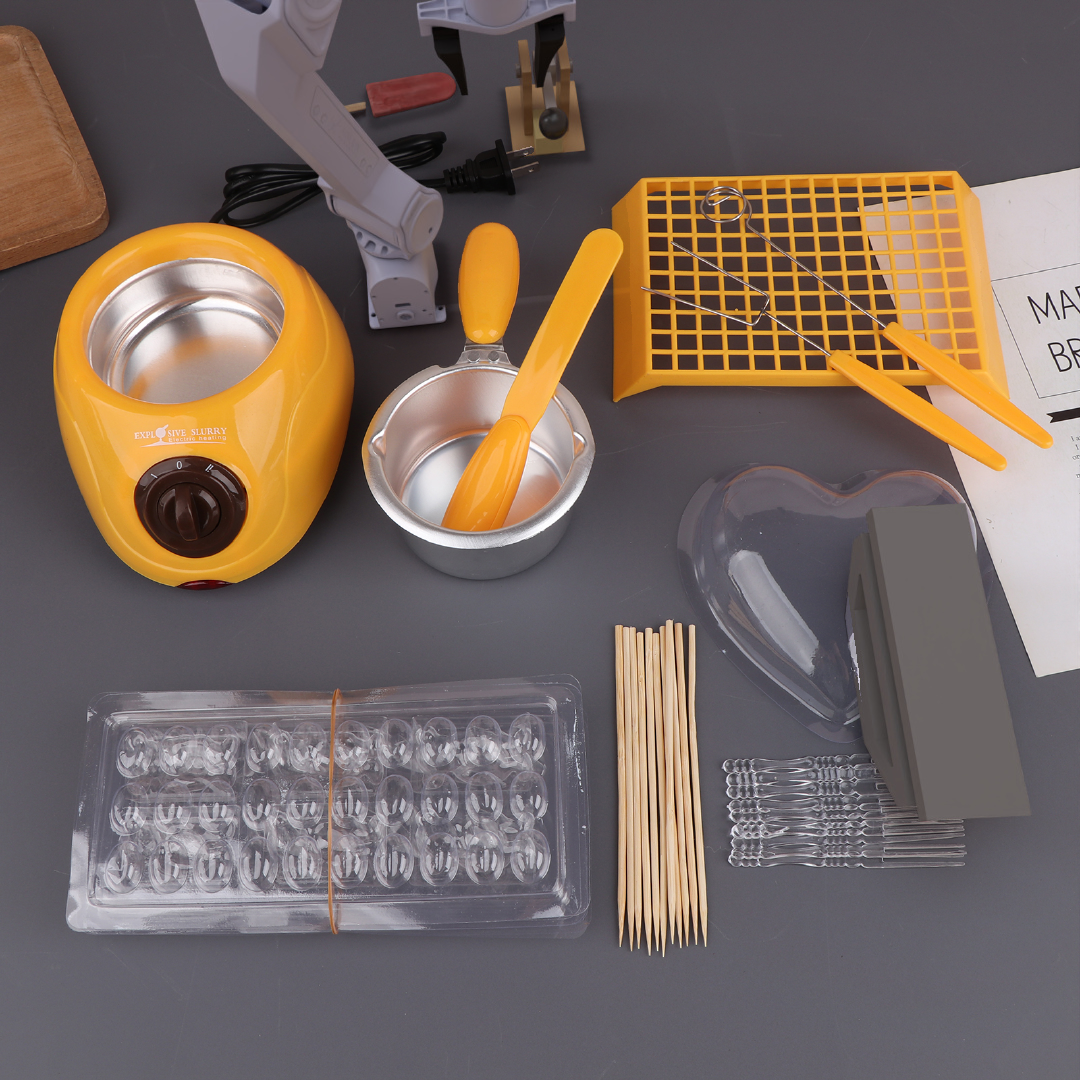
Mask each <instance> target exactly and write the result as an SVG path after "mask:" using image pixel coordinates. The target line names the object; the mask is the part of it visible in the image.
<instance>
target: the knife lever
mask: <svg viewBox="0 0 1080 1080" xmlns="http://www.w3.org/2000/svg"><path fill="white" fill-rule="evenodd" d="M534 56H535V49H534V50H531V61H532V76H533V82H534V84H535V87H536V88H537V85H536V78H535V69H534ZM553 86H556V57H555V56H554V57H553V59H552V61H551V63H550V66H549V68H548V71H547V74H546V77H545V81H544V87H542V93H543V99H544V105H545V111H543V113H542V114H541V116H540V118H539V129H540V131H541V133H542V135H543V136H544V137H546V138H547V139H550V140H557V139H560V138H561V137H563V136H564V135H565V133H566V132H567V129H568V124H569V123H568V117H567V115H566V113H565V112H564V111H563V110H562V109H560V108H557V105H556V100H555V94H554V88H553Z"/></svg>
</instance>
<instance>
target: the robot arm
mask: <svg viewBox="0 0 1080 1080" xmlns="http://www.w3.org/2000/svg"><path fill="white" fill-rule="evenodd" d="M194 3H195V5H196V8H197V11H198V14H199V17H200V20H201V23H202V26H203V29H204V31H205V34H206V38H207V40H208V43H209V45H210V48H211V49H210V50H211V51H212V54H213V57H214V60H215V63H216V66H217V69H218V71H219V74H220V76H221V78H222V80H223V81H224V83H225V84H226V86H227V87H228V88H230V90H231V91H232V92H233V93H234V94H235V95H236V96H238V97H239V99H240V100H242V101H243V102H244V103H245V104H246V105H247V107H248V108H249V109H251V110H252V111H253V112H254V113H255V115H256V116H258V117H259V118H260V119H261V120H262V121H263V122H264V123H265V124H266V125H267V126H268V127H269V128H270V129H271V130H272V131H273V132H274V133H275V134H276V135H277V136H278V137H279V138H280V139H282V141H284V143H285V144H286V145H288V146H289V148H290V149H292V150H293V151H294V152H295V154H297V156H299V157H300V158H301V159H302V161H304V162H305V163H306V164H307V165H308V166H309V167H310V168H311V169H312V170H313V171H315V173H316V174H317V175H318V177H317V182H316V185H317V186H318V187H319V188H320V189H321V190H322V191H323V193H324V196H325V201H326V204H327V207H328V210H329V211H330V212H331V213H332V214H333V215H336V216H337V217H340V218H344V219H345V222H346V225H347V227H348V228H349V229H351V231H352V232H353V234H354V237H355V240H356V244H357V247H358V250H359V252H360V255H361V256H360V257H361V258H362V259H361V260H362V262H363V266H364V268H365V271H366V282H367V303H368V321H369V322H368V323H369V327H370V328H371V329H372V330H382V329H391V328H402V327H411V326H412V327H413V326H420V325H431V324H441V323H444V322H446V320H447V310H446V304H438V305H436V300H435V299H436V297H435V292H436V287H437V285H438V284H437V283H438V280H439V270H438V265H437V259H436V256H435V250H434V245H433V241H434V240H435V238H436V237H437V235H438V233H439V231H440V228H441V226H442V223H443V218H444V202H443V197H442V194H441V193H440V192H439V190H436V189H435V188H431V187H426V186H425V185H424V184H421V183H419V182H418V181H417V180H415V179H414V178H413V177H411V176H410V175H408V174H407V173H406V172H404V171H403V170H402V169H400V168H398V166H396V165H395V164H393V163H392V162H390V160H389V159H388V158H387V157H386V156H385V155H384V153H383V152H382V151H381V150H380V149H379V147H378V146H377V145H376V143H375V142H374V141H373V140H372V138H371V137H370V136H369V135H368V134H367V132H366V131H365V130H364V129H363V128H362V126H361V125H360V124H359V122H358V121H357V120H356V119H355V117H354V116H353V115H352V113H351V112H350V113H349V112H348V111H347V109H346V108H345V107H344V106H345V105H344V104H343V103H342V102H341V100H340V99H339V98H338V97H337V95H335V93H334V92H333V91H332V89H331V88H330V87H329V86H328V84H327V83H326V82H325V81H324V79H323V78H322V77H321V76H320V74H318V73H317V71H319V70H321V69H322V68H323V67H324V64H325V61H326V57H327V54H328V50H329V47H330V43H331V40H332V37H333V33H334V31H335V26H336V24H337V19H338V16H339V12H340V11H341V10H340V9H341V6H342V3H343V0H194ZM416 10H417V20H418V25H419V33H420V37H421V38H422V37H430V36H432V38H433V39H432V40H433V48H434V51H435V53H436V55H437V57H438V58H439V59H440V60H441V61H442V62H443V63H444V65H446V67H447V69H449V71H450V73H451V74H452V76H453V77H454V78H453V79H454V80H455V83H456V85H457V86H458V89H459V91H460V95H461V96H462V97H464V96H469V90H468V89H469V88H468V82H467V74H466V73H467V72H466V67H465V62H464V57H463V53H462V46H461V38H460V37H461V36H460V31H464V32H472V33H476V34H483V35H488V36H489V35H490V36H502V35H507V34H511V33H513V32H516V31H518V30H520V29H523V28H527V27H528V26H531V25H534V50H535V56H534V69H535V78H536V85H537V88H541V87H544V81H545V77H546V74H547V71H548V68H549V66H550V63H551V61H552V59H553V57H554V58H555V57H556V53H557V51H558V50H559V48H560V47H561V46H562V45H563V43H564V39H565V36H566V29H565V22H566V23H568V22H576V20H577V19H576V14H577V13H576V12H577V1H576V0H428V1H423V2H417V3H416ZM440 309H441V310H440Z"/></svg>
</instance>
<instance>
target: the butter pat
mask: <svg viewBox="0 0 1080 1080" xmlns="http://www.w3.org/2000/svg"><path fill="white" fill-rule="evenodd" d="M558 108H559V107H558ZM543 111H545V109H537V110H533V135H534V142H535V150H536V155H535V156H538V155H537V154H543V155H549V154H548V153H554V154H559V153H558V152H563V137H561V138H560V139H557V140H550V139H547V138H546V137H544V136H543V135H542V133H541V131H540V129H539V118H540V116H541V114H542V113H543Z"/></svg>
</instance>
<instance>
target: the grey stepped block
mask: <svg viewBox="0 0 1080 1080" xmlns="http://www.w3.org/2000/svg"><path fill="white" fill-rule="evenodd" d="M865 517H866V518H865V519H866V523H867V524H866V525H867V529H868V532H861V533H859V535H858V536H857V537H855V538H854V540H853V541H852V549H851V556H850V563H849V571H848V572H849V573H848V580H847V591H846V593H847V592H848V597H849V605H850V612H851V618H852V627H853V633H854V640H855V646H856V654H857V663H858V668H859V678H860V690H859V683H858V677H857V675H855V677H856V679H855V678H854V677H853V681H854V682H853V683H854V688H855V695H856V700H857V707H858V713H859V719H860V725H861V732H862V739H863V744H864V746H865V748H866V749H867V752H868V753H869V755H870V757H871V759H872V761H873V763H874V766H875V767H876V769H877V771H878V773H879V775H880V777H881V778H882V780H883V782H884V784H885V786H886V788H887V790H888V792H889V794H890V796H891V797H892V800H893V801H894V803H895V805H896V807H897V808H911V807H915V808H916V811H917V816H918V817H917V818H918V822H922V821H923V822H924V821H945V820H966V819H985V818H986V819H987V818H1006V817H1007V818H1008V817H1027V816H1028V817H1029V816H1033V815H1032V809H1031V805H1030V800H1029V794H1028V790H1027V785H1026V781H1025V777H1024V771H1023V766H1022V762H1021V758H1020V752H1019V748H1018V744H1017V739H1016V734H1015V730H1014V725H1013V720H1012V715H1011V710H1010V705H1009V702H1008V701H1009V700H1008V696H1007V692H1006V686H1005V682H1004V678H1003V672H1002V668H1001V664H1000V659H999V653H998V650H997V645H996V640H995V635H994V630H993V626H992V622H991V621H992V620H991V617H990V612H989V608H988V602H987V598H986V593H985V589H984V584H983V579H982V574H981V569H980V565H979V561H978V555H977V550H976V546H975V541H974V537H973V531H972V528H971V527H972V526H971V523H970V518H969V513H968V508H967V503H966V502H962V503H959V502H958V503H941V504H939V503H938V504H919V505H917V504H916V505H897V506H896V505H895V506H875V507H871V508H870V509H869V510H868V511H867V512H866V513H865ZM854 674H855V672H854ZM860 691H861V696H860ZM861 700H862V702H861Z"/></svg>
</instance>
